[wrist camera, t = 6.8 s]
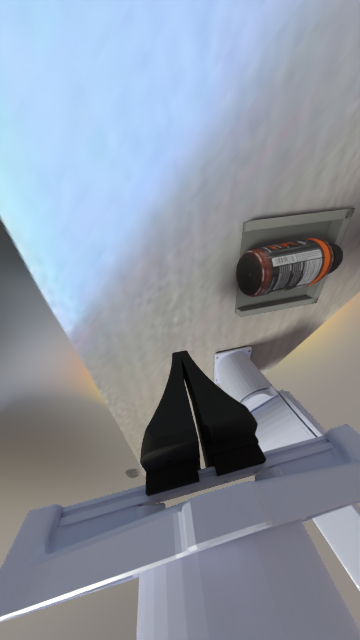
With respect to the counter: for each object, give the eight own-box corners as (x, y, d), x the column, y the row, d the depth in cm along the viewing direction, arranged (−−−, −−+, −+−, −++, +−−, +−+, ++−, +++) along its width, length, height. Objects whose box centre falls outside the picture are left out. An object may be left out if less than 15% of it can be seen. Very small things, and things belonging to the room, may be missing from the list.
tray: (306, 299, 25) (316, 302, 23) (235, 312, 24) (240, 317, 22) (338, 211, 19) (354, 207, 17) (243, 223, 17) (252, 220, 16)
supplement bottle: (234, 251, 19) (306, 238, 20) (233, 293, 21) (298, 279, 22) (265, 246, 13) (363, 228, 14) (260, 303, 16) (345, 285, 17)
